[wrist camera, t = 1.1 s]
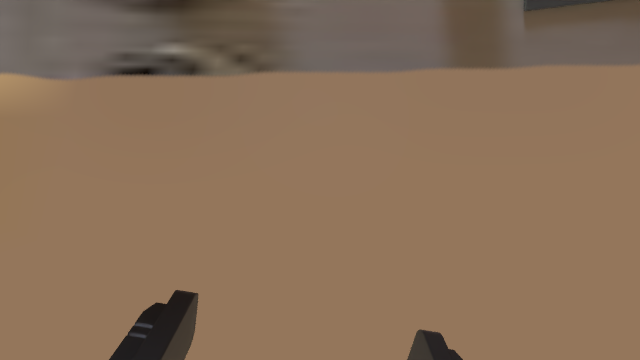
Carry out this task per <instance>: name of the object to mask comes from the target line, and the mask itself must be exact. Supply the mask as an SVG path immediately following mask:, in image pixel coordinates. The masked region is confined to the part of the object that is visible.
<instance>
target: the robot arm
mask: <svg viewBox="0 0 640 360" xmlns="http://www.w3.org/2000/svg"><path fill="white" fill-rule="evenodd" d="M197 304H198V293H193V292H186V291H180V290H176V291H175V292H174V293H173V295H172V297H171V298H170V300H169V301H168V303H167V304H162V303H155V304H154V305H152V306H151V307H149V308H148V309H146V310H145V311H143V313H142V314H141V315H140V317H139V318H138V320H137V321H136V323H135V325H134V326H133V327H132V328H131V330H130V331H129V332H128V335H127V336H126V337H125V338H124V339H123V341H122V342H121V344H120V345H119V347H118V348H117V349H116V351H115V352H114V354H113V355H112V356H111V358H110V359H109V360H184V359H185V357H186V354H187V353H188V350H189V348H190V346H191V342H192V340H193V336H194V331H195V324H196V314H197ZM407 360H463V359H462V358H461V357H460V356H459V355H458V354H457V353H456V352H455V351H454V350H451V349H448V347H447V345H446V343H445V341H444V338H443V336H442V335H441V334H440V333H438V332H432V331H426V330H418V331H417V333H416V336H415V339H414V342H413V345H412V347H411V351H410V354H409V356H408V359H407Z"/></svg>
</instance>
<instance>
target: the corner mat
mask: <svg viewBox="0 0 640 360" xmlns="http://www.w3.org/2000/svg"><path fill="white" fill-rule="evenodd" d="M602 1H610V0H524V11H530V10H538V9H546V8H554V7H562V6H570V5H578V4H586V3H594V2H602Z"/></svg>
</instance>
